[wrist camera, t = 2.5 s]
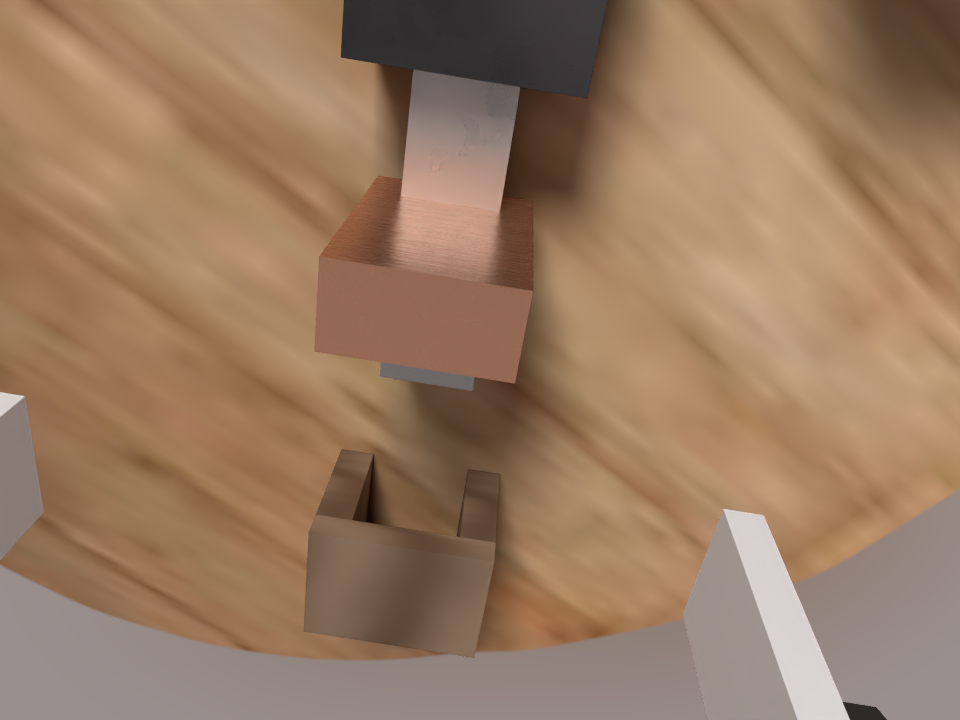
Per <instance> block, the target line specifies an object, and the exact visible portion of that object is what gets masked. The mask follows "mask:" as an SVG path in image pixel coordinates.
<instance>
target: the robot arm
mask: <svg viewBox="0 0 960 720" xmlns="http://www.w3.org/2000/svg"><path fill="white" fill-rule="evenodd" d="M43 513H44V510H43V504H42V498H41V492H40V486H39V479H38V473H37V467H36V461H35V455H34V449H33V442H32V436H31V430H30V424H29V418H28V411H27V405H26V399H25V396H20V395H14V394H8V393H2V392H0V560H1V559H2V558H3V557H4V555H5V554H6V553H7V552H8V551H9V550H10V549H11V548H12V547H13V546H14V544H15V543H16V542H17V541H18V540H19V539H20V538H21V537H22V536H23V535H24V533H25V532H26V531H27V530H28V529H29V528H30V527H31V526H32V525H33V524H34V522H35V521H36V520H37V519H38V518H39V517H40V516H41V515H42V514H43ZM683 617H684V621H685V626H686V630H687V634H688V639H689V643H690V647H691V652H692V656H693V660H694V665H695V669H696V673H697V677H698V682H699V686H700V690H701V695H702V699H703V704H704V708H705V712H706V717H707V720H887V719H886V718H885V717H884V716H883V715H882V713H881V712H880V711H879V710H878V709H877V708H876V707H871V706H865V705H859V704H852V703H846V702H842V700H841V697H840V695H839V693H838V690H837V688H836V686H835V683H834V681H833V679H832V676H831V674H830V671H829V669H828V667H827V665H826V662H825V660H824V658H823V655H822V652H821V650H820V648H819V646H818V643H817V641H816V638H815V636H814V634H813V631H812V629H811V626H810V624H809V622H808V619H807V617H806V615H805V612H804V610H803V608H802V605H801V603H800V600H799V598H798V596H797V594H796V591H795V589H794V586H793V584H792V581H791V579H790V577H789V574H788V572H787V570H786V567H785V565H784V562H783V560H782V558H781V555H780V553H779V551H778V548H777V546H776V544H775V541H774V539H773V536H772V534H771V532H770V529H769V527H768V525H767V522H766V520H765V517H764V515H758V514H752V513H746V512H739V511H733V510H727V509H723V511H722V514H721V516H720V519H719V522H718V524H717V527H716V529H715V532H714V535H713V537H712V540H711V542H710V545H709V547H708V550H707V553H706V555H705V558H704V560H703V563H702V566H701V568H700V571H699V573H698V576H697V579H696V581H695V584H694V586H693V589H692V592H691V594H690V597H689V599H688V602H687V605H686V607H685V610H684V612H683Z"/></svg>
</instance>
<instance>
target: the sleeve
mask: <svg viewBox="0 0 960 720" xmlns="http://www.w3.org/2000/svg"><path fill="white" fill-rule="evenodd" d="M606 5H607V0H344V10H343V28H342V45H341V57H342V58H348V59H353V60H359V61H365V62H371V63H377V64H383V65H389V66H395V67H401V68H407V69H413V70H419V71H425V72H431V73H437V74H443V75H449V76H455V77H461V78H467V79H473V80H479V81H485V82H491V83H497V84H503V85H509V86H515V87H521V88H527V89H533V90H539V91H545V92H551V93H557V94H563V95H569V96H575V97H581V98H587V96H588V91H589V87H590V82H591V77H592V72H593V67H594V63H595V58H596V53H597V48H598V43H599V39H600V34H601V29H602V24H603V19H604V14H605V10H606Z"/></svg>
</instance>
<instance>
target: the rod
mask: <svg viewBox="0 0 960 720" xmlns="http://www.w3.org/2000/svg"><path fill="white" fill-rule="evenodd" d="M519 93H520V87H515V86H509V85H503V84H497V83H491V82H485V81H479V80H473V79H467V78H461V77H455V76H449V75H443V74H437V73H431V72H425V71H419V70H413V79H412V89H411V99H410V109H409V119H408V129H407V139H406V149H405V159H404V169H403V179H402V180H401V179H395V178H389V177H383V176H378V177H377V178H376V180H375V181H374V182H373V184H372V185H371V186H370V188H369V189H368V191H367V192H366V193H365V195H364V196H363V197H362V199H361V200H360V201H359V203H358V204H357V206H356V207H355V208H354V210H353V211H352V212H351V214H350V215H349V217H348V218H347V219H346V221H345V222H344V223H343V225H342V226H341V227H340V229H339V230H338V232H337V233H336V234H335V236H334V237H333V238H332V240H331V241H330V243H329V244H328V245H327V247H326V248H325V249H324V251H323V252H322V253H321V255H320V256H319V273H318V293H317V314H316V334H315V352H321V353H328V354H334V355H340V356H346V357H353V358H359V359H365V360H371V361H377V362H381V371H380V376H381V377H387V378H393V379H400V380H406V381H412V382H418V383H425V384H431V385H437V386H443V387H450V388H456V389H462V390H468V391H473V386H474V380H475V377H477V378H484V379H490V380H496V381H502V382H508V383H515V380H516V375H517V370H518V365H519V360H520V355H521V350H522V345H523V340H524V335H525V330H526V325H527V320H528V315H529V310H530V305H531V300H532V295H533V201H529V200H523V199H517V198H511V197H505V196H503V190H504V184H505V178H506V172H507V166H508V160H509V154H510V148H511V142H512V136H513V130H514V123H515V117H516V111H517V105H518V99H519Z"/></svg>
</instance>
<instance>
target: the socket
mask: <svg viewBox="0 0 960 720" xmlns="http://www.w3.org/2000/svg"><path fill="white" fill-rule="evenodd" d="M372 463H373V454H368V453H361V452H355V451H349V450H341V452H340V455H339V457H338V460H337V462H336V465H335V467H334V470H333V473H332V475H331V478H330V480H329V483H328V485H327V488H326V490H325V493H324V495H323V498H322V501H321V503H320V506H319V508H318V511H317V513H316V516H315V518H314V521H313V523H312V526H311V529H310V531H309V539H308V558H307V577H306V597H305V616H304V632H310V633H317V634H323V635H330V636H336V637H343V638H349V639H356V640H362V641H369V642H375V643H382V644H388V645H395V646H401V647H408V648H414V649H421V650H427V651H434V652H440V653H447V654H453V655H460V656H466V657H473V658H474V656H475V652H476V647H477V642H478V638H479V633H480V628H481V624H482V619H483V614H484V609H485V605H486V600H487V595H488V590H489V586H490V581H491V576H492V571H493V567H494V562H495V546H496V529H497V513H498V497H499V481H500V474H494V473H488V472H481V471H475V470H469V469H468V474H467V480H466V486H465V491H464V497H463V503H462V508H461V514H460V520H459V526H458V531H457V537H456V536H449V535H443V534H437V533H430V532H424V531H418V530H411V529H405V528H398V527H392V526H386V525H379V524H373V523H367V514H368V503H369V493H370V483H371V473H372Z"/></svg>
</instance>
